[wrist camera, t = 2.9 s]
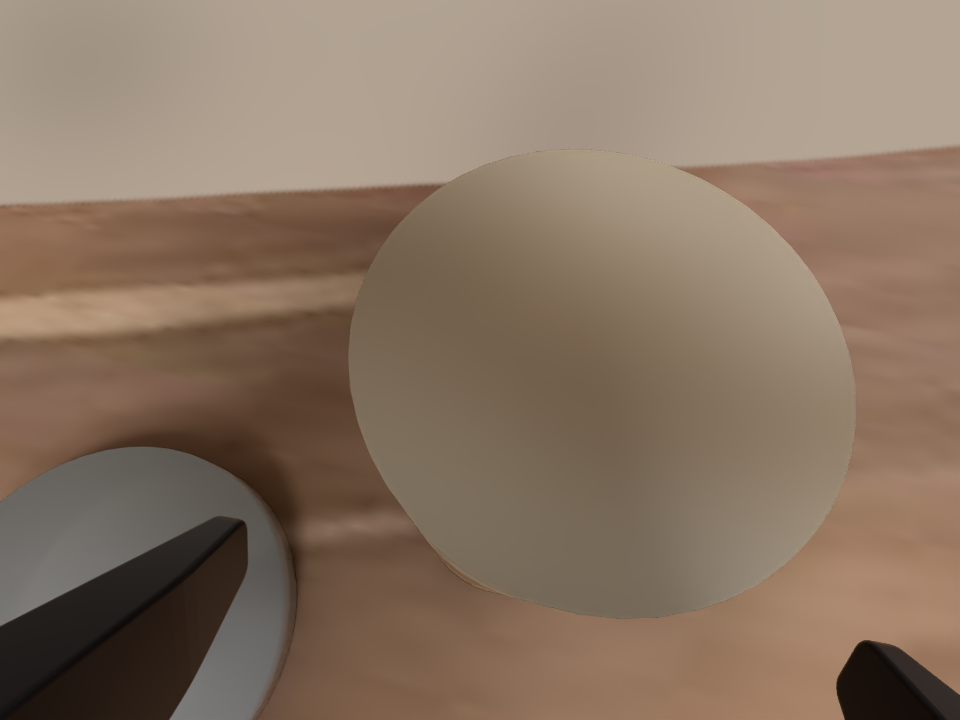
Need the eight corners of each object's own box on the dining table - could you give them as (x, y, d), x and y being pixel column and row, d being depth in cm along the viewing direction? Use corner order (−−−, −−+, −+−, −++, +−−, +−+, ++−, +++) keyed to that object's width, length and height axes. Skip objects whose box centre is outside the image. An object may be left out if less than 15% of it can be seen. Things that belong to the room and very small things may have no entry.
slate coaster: (157, 909, 13) (122, 947, 12) (-136, 717, 15) (-197, 731, 13) (356, 536, 17) (347, 532, 16) (108, 410, 18) (80, 396, 17)
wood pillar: (549, 624, 16) (802, 739, 4) (393, 546, 17) (241, 457, 5) (607, 465, 18) (887, 245, 6) (466, 401, 19) (480, 96, 7)
